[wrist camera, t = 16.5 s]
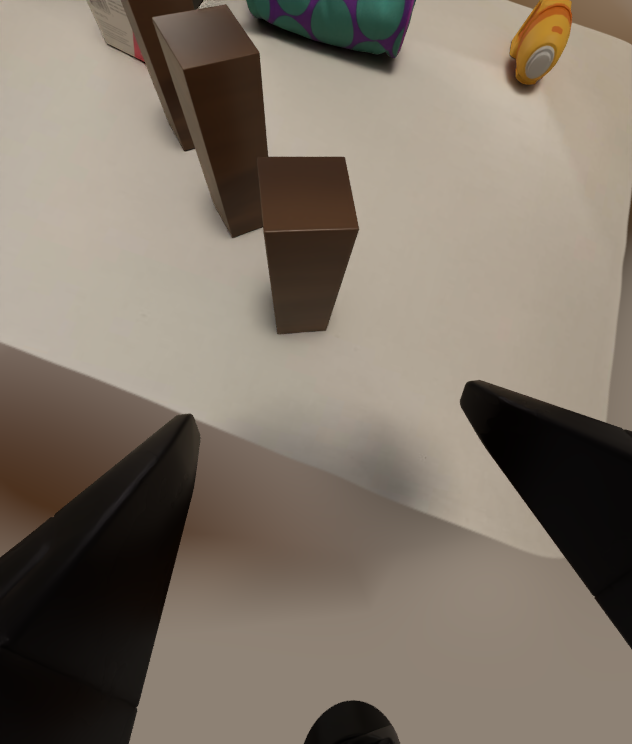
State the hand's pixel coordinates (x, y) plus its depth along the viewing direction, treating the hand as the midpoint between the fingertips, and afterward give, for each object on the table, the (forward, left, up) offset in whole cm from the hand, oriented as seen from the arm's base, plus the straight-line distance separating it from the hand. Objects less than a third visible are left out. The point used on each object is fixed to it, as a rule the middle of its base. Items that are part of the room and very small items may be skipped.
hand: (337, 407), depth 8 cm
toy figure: (+44, -39, -14) cm, 60 cm away
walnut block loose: (+11, -1, -14) cm, 17 cm away
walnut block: (+22, +3, -14) cm, 26 cm away
